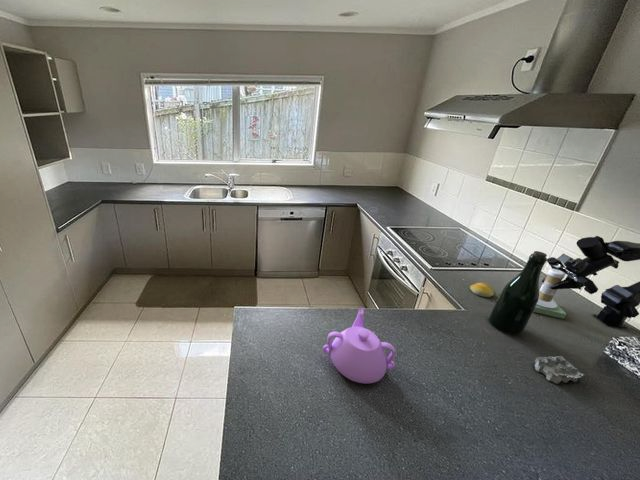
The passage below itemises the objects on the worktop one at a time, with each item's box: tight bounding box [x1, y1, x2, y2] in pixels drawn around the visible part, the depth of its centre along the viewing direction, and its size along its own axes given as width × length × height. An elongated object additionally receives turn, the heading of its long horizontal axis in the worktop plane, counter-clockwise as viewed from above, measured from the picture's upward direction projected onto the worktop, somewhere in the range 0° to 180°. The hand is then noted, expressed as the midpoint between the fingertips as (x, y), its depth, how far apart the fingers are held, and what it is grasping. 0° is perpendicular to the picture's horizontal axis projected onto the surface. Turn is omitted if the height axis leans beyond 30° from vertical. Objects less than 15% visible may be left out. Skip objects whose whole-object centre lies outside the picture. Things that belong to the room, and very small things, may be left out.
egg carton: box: [534, 355, 584, 385], centre depth 90 cm, size 11×8×4 cm
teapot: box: [322, 306, 397, 384], centre depth 90 cm, size 22×22×14 cm
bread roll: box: [469, 282, 495, 298], centre depth 130 cm, size 8×9×4 cm
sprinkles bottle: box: [539, 268, 566, 302], centre depth 113 cm, size 5×5×14 cm
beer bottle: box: [488, 250, 548, 336], centre depth 104 cm, size 10×10×33 cm
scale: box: [533, 298, 567, 319], centre depth 122 cm, size 14×12×4 cm
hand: (546, 285), depth 114 cm, fingers closed on sprinkles bottle, 4 cm apart
